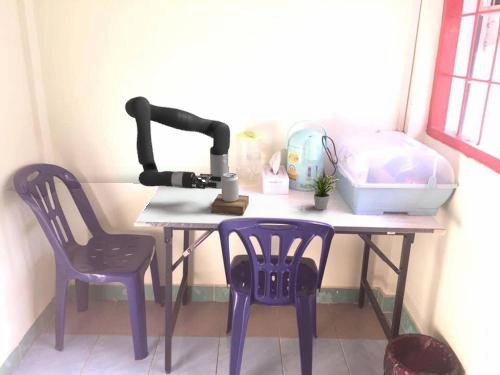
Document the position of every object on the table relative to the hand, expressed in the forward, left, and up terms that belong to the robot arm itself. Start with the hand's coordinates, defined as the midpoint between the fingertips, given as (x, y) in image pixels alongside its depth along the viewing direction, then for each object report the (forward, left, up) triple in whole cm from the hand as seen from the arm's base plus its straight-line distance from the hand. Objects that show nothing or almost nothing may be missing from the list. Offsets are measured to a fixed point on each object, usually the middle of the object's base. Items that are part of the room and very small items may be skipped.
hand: (218, 182), depth 192 cm
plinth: (-2, +5, -12) cm, 13 cm away
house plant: (-23, +40, -12) cm, 48 cm away
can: (-2, +5, -8) cm, 10 cm away
